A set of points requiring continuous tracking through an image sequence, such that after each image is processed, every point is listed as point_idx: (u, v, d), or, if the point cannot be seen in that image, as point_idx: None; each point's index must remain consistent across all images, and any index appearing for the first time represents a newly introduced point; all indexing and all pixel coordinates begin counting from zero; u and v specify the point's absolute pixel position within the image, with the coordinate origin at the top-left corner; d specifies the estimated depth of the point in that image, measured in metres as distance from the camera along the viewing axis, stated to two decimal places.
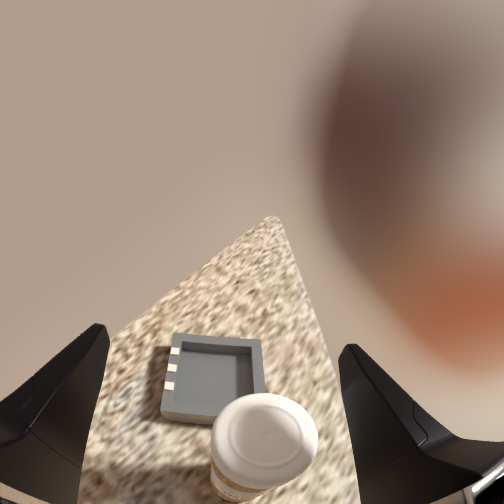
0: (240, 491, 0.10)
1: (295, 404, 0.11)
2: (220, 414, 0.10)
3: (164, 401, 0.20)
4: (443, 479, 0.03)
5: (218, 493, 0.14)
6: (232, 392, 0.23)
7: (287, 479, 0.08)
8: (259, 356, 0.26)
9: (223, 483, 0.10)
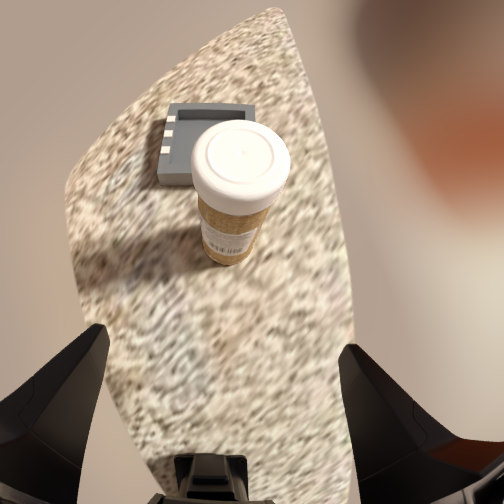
0: (222, 232, 0.16)
1: (270, 130, 0.12)
2: (200, 136, 0.12)
3: (160, 165, 0.23)
4: (443, 479, 0.03)
5: (209, 254, 0.23)
6: None
7: (257, 197, 0.11)
8: (252, 119, 0.26)
9: (207, 224, 0.16)
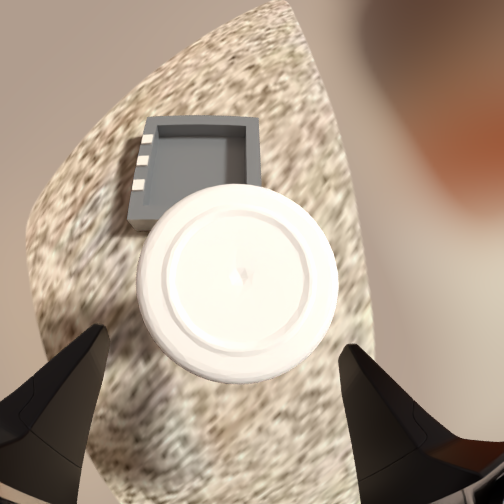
0: None
1: (300, 211, 0.06)
2: (152, 231, 0.06)
3: (132, 206, 0.17)
4: (443, 479, 0.03)
5: None
6: None
7: (273, 377, 0.05)
8: (255, 138, 0.20)
9: None
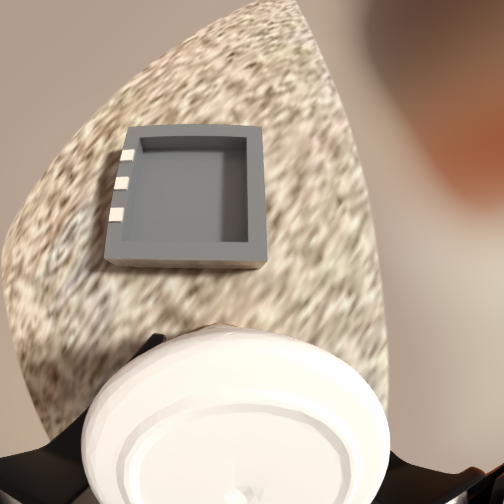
0: None
1: (351, 383, 0.03)
2: (88, 420, 0.02)
3: (109, 242, 0.14)
4: None
5: None
6: (215, 212, 0.17)
7: None
8: (258, 153, 0.16)
9: None
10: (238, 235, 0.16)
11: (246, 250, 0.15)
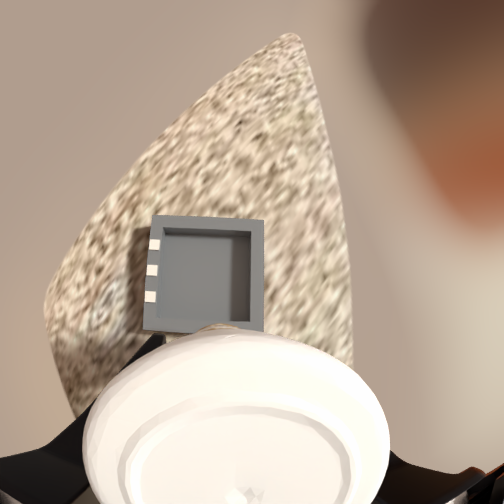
0: None
1: (351, 385, 0.03)
2: (89, 422, 0.02)
3: (146, 317, 0.19)
4: None
5: None
6: (225, 292, 0.22)
7: None
8: (260, 246, 0.21)
9: None
10: (243, 311, 0.21)
11: (248, 327, 0.20)
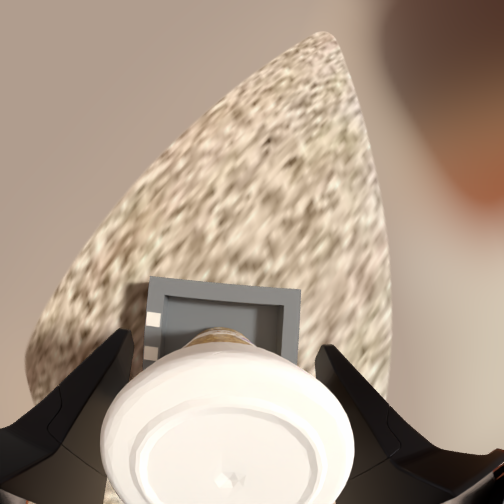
0: None
1: (315, 393, 0.04)
2: (107, 420, 0.03)
3: None
4: (414, 493, 0.03)
5: None
6: None
7: None
8: (294, 326, 0.16)
9: None
10: None
11: None
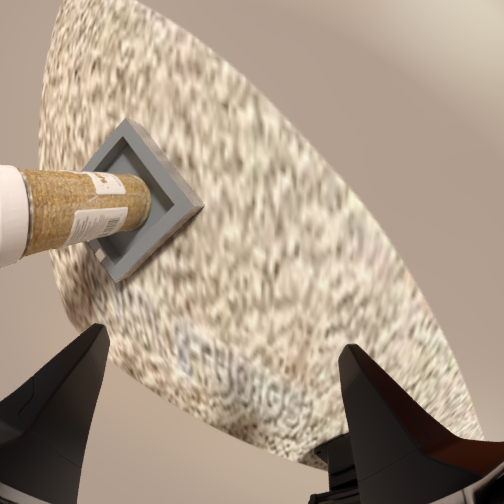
0: (62, 244, 0.12)
1: None
2: None
3: (110, 272, 0.19)
4: (443, 479, 0.03)
5: None
6: None
7: None
8: (137, 139, 0.17)
9: (54, 248, 0.12)
10: None
11: (177, 211, 0.18)
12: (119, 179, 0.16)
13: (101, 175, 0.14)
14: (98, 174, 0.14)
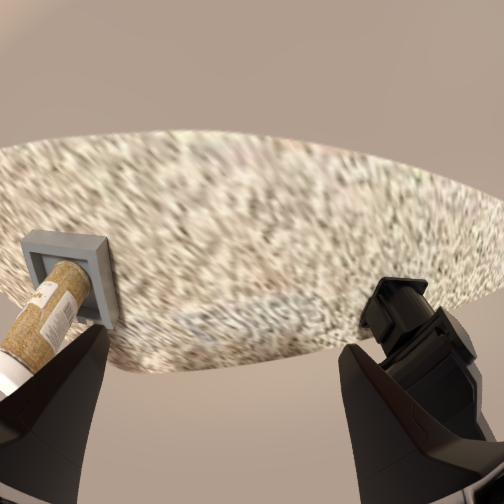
0: (53, 352, 0.15)
1: None
2: None
3: None
4: (443, 479, 0.03)
5: (85, 297, 0.22)
6: None
7: None
8: (36, 245, 0.18)
9: (54, 356, 0.16)
10: None
11: (92, 261, 0.19)
12: (49, 280, 0.18)
13: (37, 293, 0.17)
14: (35, 294, 0.16)
